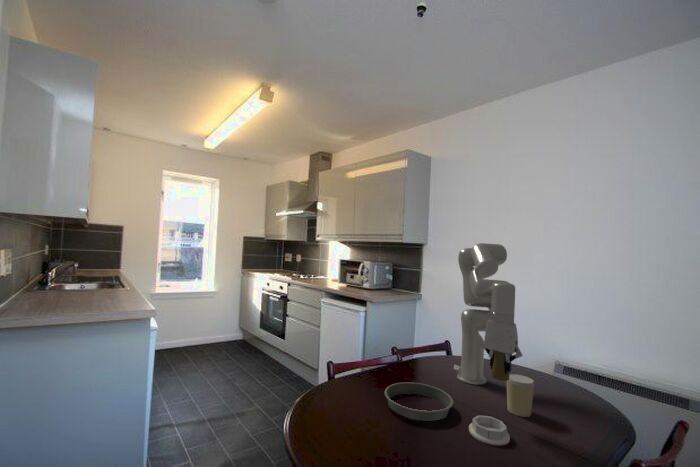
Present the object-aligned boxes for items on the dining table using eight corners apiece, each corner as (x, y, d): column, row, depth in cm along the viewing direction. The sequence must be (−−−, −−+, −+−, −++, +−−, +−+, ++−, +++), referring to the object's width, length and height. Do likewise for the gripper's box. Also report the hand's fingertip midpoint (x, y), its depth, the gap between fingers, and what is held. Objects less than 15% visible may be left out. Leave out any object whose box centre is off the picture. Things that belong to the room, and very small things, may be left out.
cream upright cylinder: (530, 408, 126) (531, 376, 126) (535, 420, 117) (536, 385, 118) (503, 403, 129) (504, 372, 129) (506, 414, 120) (507, 380, 121)
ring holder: (461, 432, 106) (462, 421, 106) (479, 420, 114) (479, 410, 114) (500, 450, 97) (500, 438, 98) (516, 436, 106) (516, 425, 106)
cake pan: (464, 409, 123) (465, 397, 123) (430, 433, 105) (431, 419, 105) (407, 387, 139) (408, 376, 140) (370, 405, 121) (371, 392, 122)
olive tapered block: (511, 381, 113) (512, 348, 113) (492, 379, 114) (493, 346, 114) (506, 375, 119) (508, 343, 119) (488, 372, 120) (490, 342, 120)
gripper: (474, 314, 121) (472, 366, 120) (523, 324, 108) (521, 381, 108) (483, 312, 126) (481, 361, 125) (531, 321, 114) (529, 376, 113)
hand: (500, 370), depth 116 cm, fingers closed on olive tapered block, 3 cm apart
